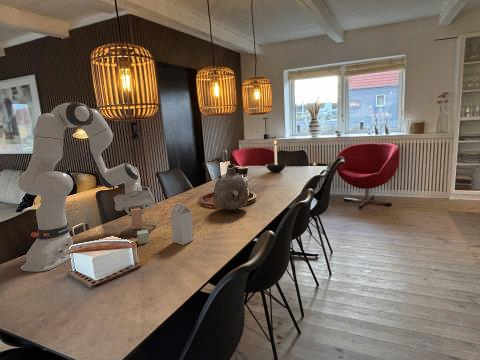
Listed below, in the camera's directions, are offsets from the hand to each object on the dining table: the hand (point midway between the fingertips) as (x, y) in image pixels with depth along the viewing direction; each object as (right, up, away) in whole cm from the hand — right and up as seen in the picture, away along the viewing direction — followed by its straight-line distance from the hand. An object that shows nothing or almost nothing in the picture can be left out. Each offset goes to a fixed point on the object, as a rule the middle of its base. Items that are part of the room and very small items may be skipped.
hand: (136, 214), depth 165 cm
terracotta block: (0, -7, +2) cm, 7 cm away
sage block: (+7, -12, -10) cm, 17 cm away
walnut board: (0, -10, +3) cm, 10 cm away
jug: (+50, -1, +32) cm, 59 cm away
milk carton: (+27, -12, -13) cm, 32 cm away
